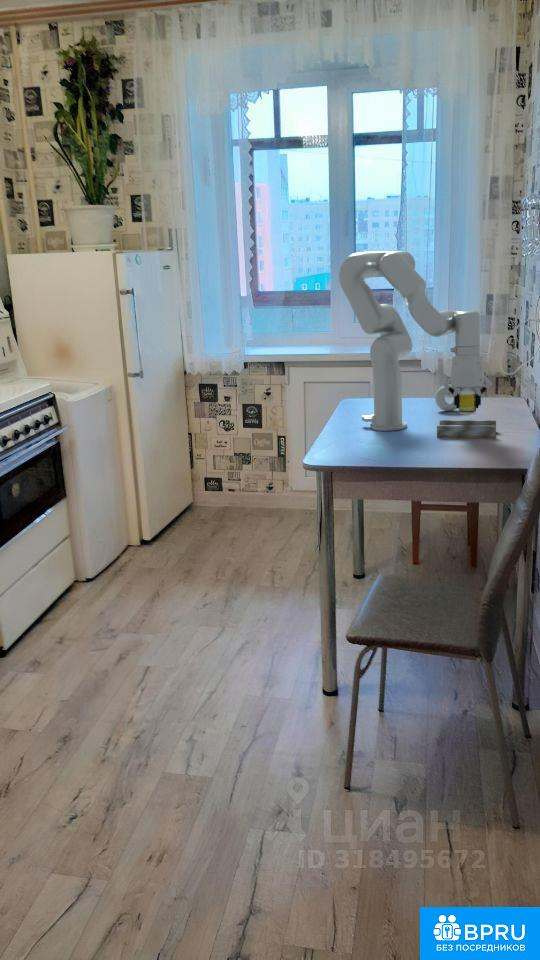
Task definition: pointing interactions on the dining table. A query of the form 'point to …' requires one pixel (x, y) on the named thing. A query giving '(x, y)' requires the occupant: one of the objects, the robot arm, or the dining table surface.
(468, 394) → the supplement bottle
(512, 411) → the dining table surface
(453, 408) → the donut
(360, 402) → the dining table surface
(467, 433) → the track
